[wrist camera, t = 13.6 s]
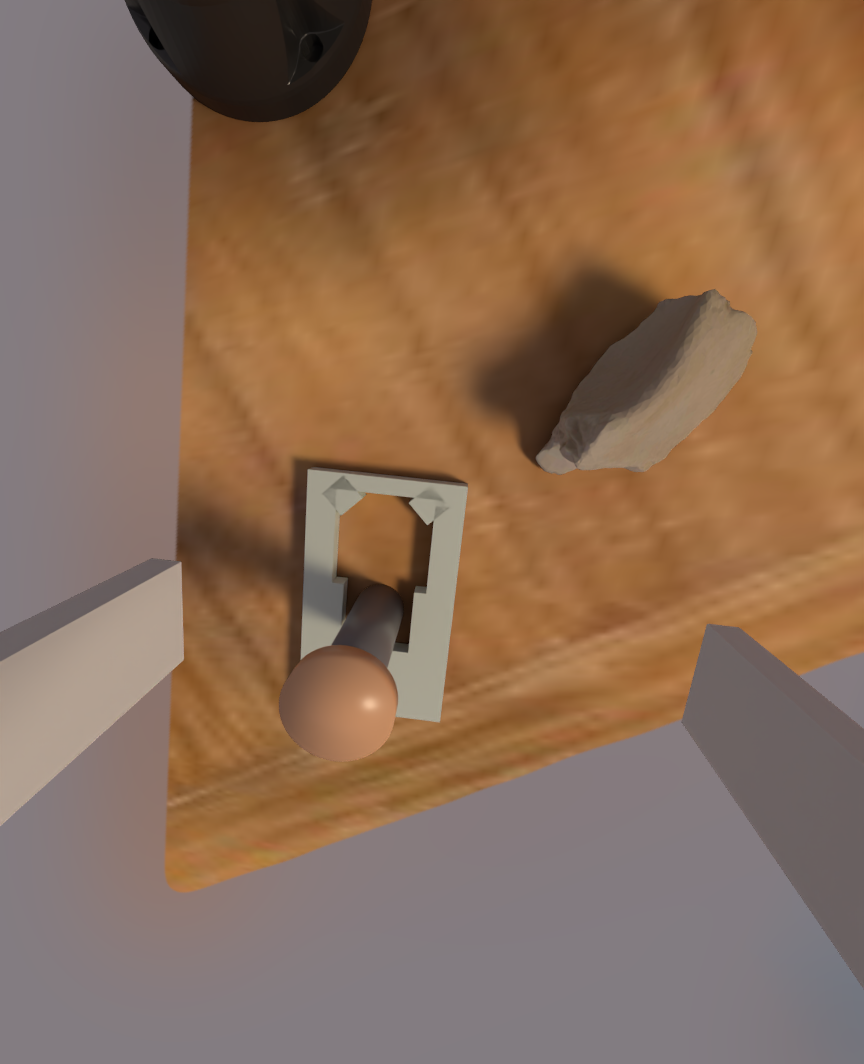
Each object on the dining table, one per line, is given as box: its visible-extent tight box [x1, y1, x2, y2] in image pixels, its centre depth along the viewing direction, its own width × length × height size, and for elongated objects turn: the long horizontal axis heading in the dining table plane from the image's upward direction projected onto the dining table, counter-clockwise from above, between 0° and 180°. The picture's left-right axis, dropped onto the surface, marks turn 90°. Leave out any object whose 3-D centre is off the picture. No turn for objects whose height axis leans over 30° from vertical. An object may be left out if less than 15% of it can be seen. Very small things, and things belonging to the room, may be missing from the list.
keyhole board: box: [301, 467, 468, 722], centre depth 40 cm, size 20×12×2 cm, turn 174°
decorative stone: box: [536, 289, 757, 475], centre depth 32 cm, size 8×14×8 cm, turn 136°
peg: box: [279, 584, 404, 762], centre depth 34 cm, size 6×6×14 cm
